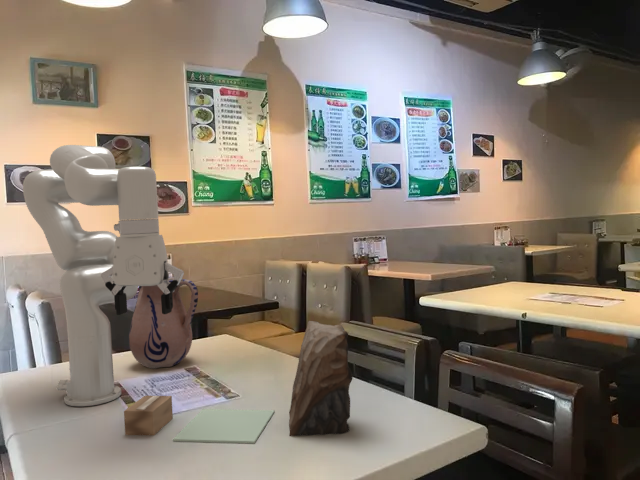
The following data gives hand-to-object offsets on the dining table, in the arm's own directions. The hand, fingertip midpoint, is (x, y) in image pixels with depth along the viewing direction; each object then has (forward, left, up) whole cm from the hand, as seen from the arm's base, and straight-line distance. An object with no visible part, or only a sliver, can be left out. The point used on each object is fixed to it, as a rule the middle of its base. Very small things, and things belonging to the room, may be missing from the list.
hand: (144, 313), depth 112 cm
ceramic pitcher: (-16, +45, -24) cm, 53 cm away
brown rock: (+34, +2, -24) cm, 41 cm away
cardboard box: (0, 0, -24) cm, 24 cm away
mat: (+16, +1, -23) cm, 28 cm away
